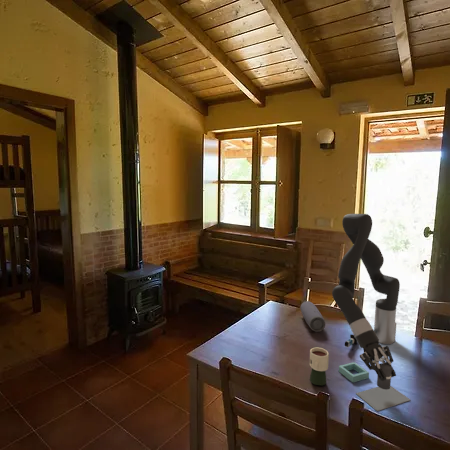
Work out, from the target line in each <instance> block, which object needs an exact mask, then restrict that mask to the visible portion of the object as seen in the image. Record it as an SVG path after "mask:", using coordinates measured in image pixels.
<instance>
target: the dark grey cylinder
mask: <svg viewBox="0 0 450 450" xmlns="http://www.w3.org/2000/svg"><path fill="white" fill-rule="evenodd" d="M379 365H380V369H382V371H383V373H384V375H385V376H386V380H383V381H381V380H380V379H379V377H378V376H377V379H376V385H377V387H380V388H382V389H386V390H387V389H390V386H391V381H392V377H391V371H392V368H391V366H392V365H391V366H389V365H387V364H383V363H382V362H380V363H379Z"/></svg>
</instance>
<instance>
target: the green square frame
mask: <svg viewBox="0 0 450 450" xmlns="http://www.w3.org/2000/svg"><path fill="white" fill-rule="evenodd" d="M352 370H355V371H356V372H357V373H355V374H353V373H352V372H351V371H352ZM338 372H339V373H340V374H341V375H343V376H344V377H345V378H346V379H348V381H350V382H351V383H356V382H359V381H364V380H368V379H369V378H370V372H369V371H368V370H367V369H366V368H364V367H362V366H361V365H359V364H358V363H356V362H355V361H352V362H349V363H346V364H340V365H339V366H338Z"/></svg>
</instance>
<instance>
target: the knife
mask: <svg viewBox="0 0 450 450" xmlns="http://www.w3.org/2000/svg"><path fill="white" fill-rule="evenodd" d="M353 344H354V345H357V344H358V342H357V340H356V338H355V336H354V334H353V333H352V334H350V337H349V339H347V340H345V342H344V346H345V348H349V347H350V346H352V345H353Z"/></svg>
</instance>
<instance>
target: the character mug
mask: <svg viewBox="0 0 450 450" xmlns="http://www.w3.org/2000/svg"><path fill="white" fill-rule="evenodd" d="M329 355H330V353H329V351H328V350H327V349H324V348H322V347H313V348H311V349H309V366H310V367H311V372H310V377H309V381H310V383H311V384H313V385H314V386H315V385H316V386H325V385H326V384H327V373H326V372H327V371H328V369H329V358H330V357H329Z"/></svg>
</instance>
